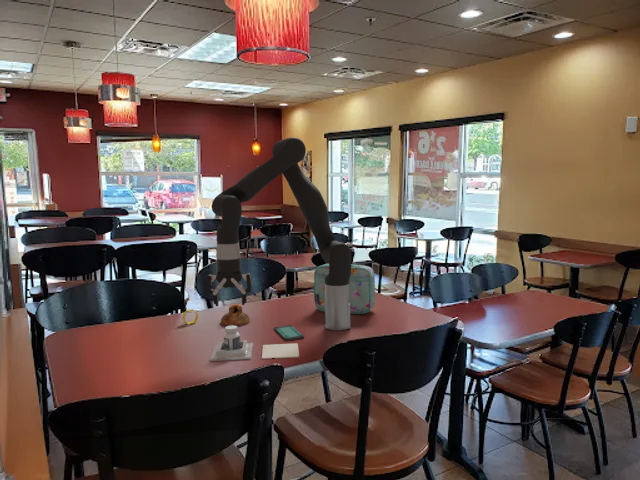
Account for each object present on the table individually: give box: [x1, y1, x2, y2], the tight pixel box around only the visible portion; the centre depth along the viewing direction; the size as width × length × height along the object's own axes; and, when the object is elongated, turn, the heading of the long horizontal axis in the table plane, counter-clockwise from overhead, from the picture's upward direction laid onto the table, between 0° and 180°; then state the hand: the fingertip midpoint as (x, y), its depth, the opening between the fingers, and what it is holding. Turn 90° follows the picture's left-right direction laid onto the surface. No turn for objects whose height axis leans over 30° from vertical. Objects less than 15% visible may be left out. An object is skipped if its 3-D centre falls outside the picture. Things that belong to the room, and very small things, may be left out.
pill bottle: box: [223, 325, 241, 350], centre depth 161 cm, size 5×5×9 cm
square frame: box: [209, 339, 254, 362], centre depth 162 cm, size 13×13×2 cm
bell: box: [220, 303, 251, 327], centre depth 195 cm, size 12×12×7 cm
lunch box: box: [311, 263, 376, 315], centre depth 206 cm, size 27×10×21 cm, turn 73°
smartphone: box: [273, 324, 305, 342], centre depth 180 cm, size 7×1×15 cm
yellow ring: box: [182, 307, 199, 325], centre depth 194 cm, size 6×3×6 cm, turn 127°
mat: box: [261, 342, 300, 360], centre depth 162 cm, size 12×12×1 cm
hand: (230, 305), depth 160 cm, fingers open, 8 cm apart
